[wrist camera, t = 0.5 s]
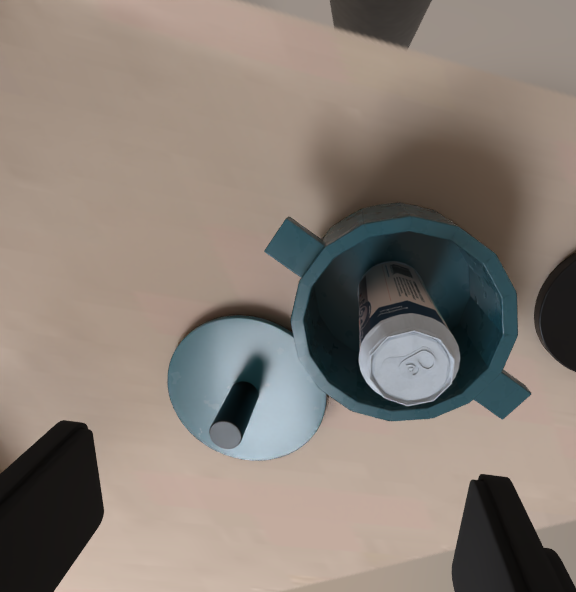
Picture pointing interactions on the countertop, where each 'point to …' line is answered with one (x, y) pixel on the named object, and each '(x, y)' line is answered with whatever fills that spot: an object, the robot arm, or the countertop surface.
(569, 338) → the black plate
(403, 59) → the countertop surface
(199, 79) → the countertop surface
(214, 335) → the lid
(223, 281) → the countertop surface
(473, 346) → the pot
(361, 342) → the beer can
